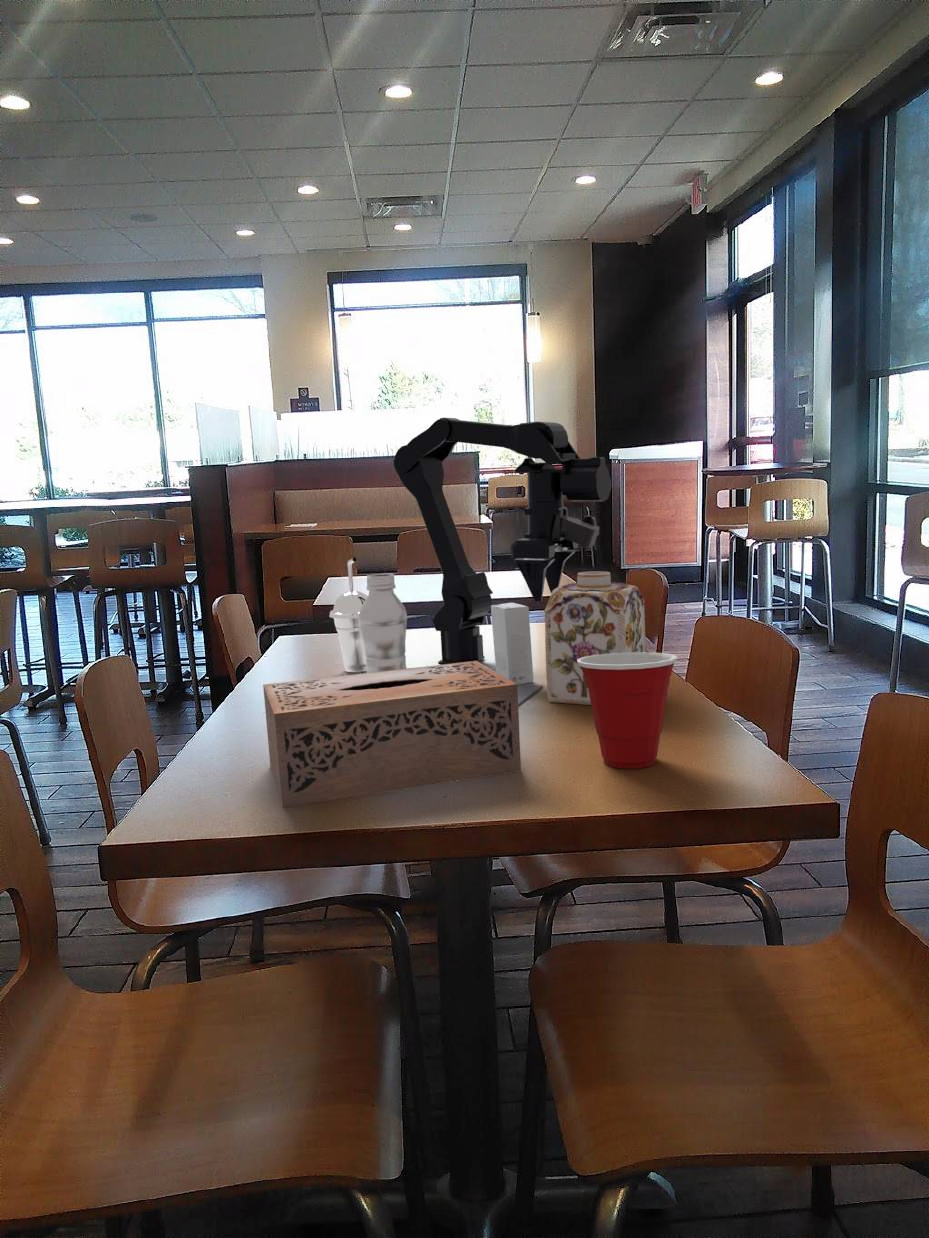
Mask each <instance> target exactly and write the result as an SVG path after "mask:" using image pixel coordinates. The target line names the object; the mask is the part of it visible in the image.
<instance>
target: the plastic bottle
mask: <svg viewBox="0 0 929 1238" xmlns="http://www.w3.org/2000/svg"><path fill="white" fill-rule="evenodd" d="M394 575H395V574H394V573H377V574H375V573H374V574H369V575H366V591H368V595H367V596H368V597H367V598H366V600H365V601H364V603H363V605H362V607H361V609H360V612H359V623H360V628H361V633H362V637H363V642H364V648H365V656H366V664H367V671H366V673H372V672H381V671H390V670H399V669H408V668H407V664H406V663H407V661H406V658H407V657H406V651H407V650H406V637H407V624H408V623H407V621H408V614H407V610H406V607H405V605H404V604H403V603H402V601H401V599H400V598H399V597H398V596H397V595H396V594H395V592H394V589H396V583H395V576H394Z"/></svg>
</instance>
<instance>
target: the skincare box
mask: <svg viewBox="0 0 929 1238" xmlns="http://www.w3.org/2000/svg"><path fill="white" fill-rule="evenodd" d="M529 610H530V607H529V606H527V605H523V604H519V603H516V602H506V603H498V604H497V603H496V604H492V605H491V606H490V613H491V625H492V626H491V629H492V639H493V640H492V641H493V649H494V650H493V651H494V664H495V672H497V673H498V674H500V675H502V676H504V677H505V678H507V679H509V680H510V681H512V682H514V683H516V684H531V683H533V682H534V669H533V665H534V664H533V656H532V652H533V651H532V640H531V639H532V638H531V637H532V636H531V624H530V623H531V622H530V611H529Z"/></svg>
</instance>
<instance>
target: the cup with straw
mask: <svg viewBox="0 0 929 1238" xmlns="http://www.w3.org/2000/svg"><path fill="white" fill-rule="evenodd" d="M355 562H357V558H356V557H353V558H351V559H349V560H348V561H347V571H348V572H347V573H348V576H347V577H348V584H349V585H348V587H349V588H348V590H349V591H346V592H344V593H342V594H340V595H339V596H338V597H337V598H336V600H335V602H334V605H333V609H332V610H330V611H329V615H328V616H329V618H331V619H333V620H334V621H333V622H334V626H335V630H336V632H337V637H338V641H339V647H340V651H341V657H342V664H343V666H344V668H345V669H344V671H345V672H346V673H362V672H363V673H364V672H367V664H366V656H365V648H364V642H363V637H362V633H361V628H360V623H359V612H360V609H361V607H362V605H363V603H364V601H365V600H366V598H367V597H368V595H367V594H365V593H364V592H361V591H359V590H357V591H356V590H354V580H353V579H354V577H353V566H352V564H354V563H355Z"/></svg>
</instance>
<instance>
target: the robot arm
mask: <svg viewBox="0 0 929 1238" xmlns="http://www.w3.org/2000/svg"><path fill="white" fill-rule="evenodd" d="M458 443H463V444H471V445H481V446H489V447H496V448H497V447H498V448H504V449H508V450H510V451H512V452H514V453H516V454H519V455H522V456H525V458H524V459H523V461H522V462H521V463H520V465H518V466H517V467H515V469H514V473H516V474H527V507H525V508H523V509H524V510H523V514H524V516H525V515H526V516H527V528H528V529H527V532H528V533H525V534H524V538H519V539H517V540H515V541H514V542H513V543H512V544H510V559H513V561H514V562H513V563H514V564H516V566H517V568H518V569H519V572H520V573H521V575H522V577H523V579H524V581H525V583H526V585H527V587H528V589H529V592H530V594H531V596H532V598H533V600H534V602H542V600H543V595H544V589H545V582H546V583H547V586H548V589H549V592H550V593H551V594H552V591H553V590H554V589H556V588H557V587H560V584H561V580H562V575H563V572H564V568H565V564H566V561H567V560H568V559H569V558H570V557H572V555H574V554H575V553H576V549H578V548H579V546H580V547H582V548H585V549H590V548H591V547H594V546H595V543H596V539H597V536H599V535H600V526H599V525H597V518H596V517H593V516H592V515H585V516H583V518H582V519H579V518H576V517H575V518H574V517H572V516H570V515H569V509H568V508H567V506H564V496H565V497H566V499H567V500H568V501H569V502H606V501H607V500H608V499H609V497H610V494H611V490H612V489H611V488H612V478H611V477H610V476H611V475H610V471H609V468H608V466H607V465H606V457H604V456H594V457H590V458H581V457H580V456H579V454H578V453H577V452H576V451H577V450H575V448H574V447H573V445H572V444H571V442H570V441H569V436H568V432H567V430H566V429H565V427H564V425H562V424H561V423H558V422H551V421H550V422H549V421H528V422H520V423H514V424H503V423H501V424H500V423H493V422H480V421H472V420H471V421H470V420H463V419H459V418H455V417H440V418H438V419H437V420H435V421H434V422H433V423H432V424H431V425H430V427H428V428H427V429H425V430H423V431H422V432H420V433H419V434H418V435H416V436H415V437H413V438H412V439H411V440H410V441H409V442H408V443H407V444H406V445H403V446H400V448H398V449H397V451H396V453H395V456H394V458H393V460H392V462H393V463H392V464H393V468H394V470H395V472H396V475H397V476H398V479H399V480H400V482H401V484H402V485H403V486H404V487H405V489H406V490H408V492H409V493H410V494H411V495H412V496H413V497H414V498H415V501H416V502H417V505H418V508H419V510H420V513H421V514H420V515H421V517H422V520H423V523H424V525H425V528H426V531H427V533H428V537H429V539H430V542H431V544H432V548H433V551H434V553H435V555H436V558H437V562H438V564H439V567H440V570H441V572H442V584H441V597H442V603H443V606H442V607H441V608H440V609H439V611H438V612H437V613H435V616H434V617H433V618H432V623H433V626H434V630H435V631H436V632H440V646H441V659H440V660H438V662H437V663H438V664H437V665H444V664H452V663H461V662H470V661H478V662H479V663H480V661H482V660H484V659H485V658H486V657H485V655H484V640H483V639H484V638H483V635H482V634H481V633H480V632H481V631H480V626H481V625H484V623H485V618H486V615H487V614H488V612H490V610H491V605H493V604H492V603H493V600H492V596H491V595H492V594H494V593H493V590H492V589H491V587H490V585H489V582H488V578H487V574H486V573H485V572H484V571H481V572H476V571H475V570H474V569H473V568H472V566H471V565H470V564H469V561H468V558H467V556H466V555H467V554H466V553H465V550H464V547H463V544H462V542H461V538H460V536H459V533H458V530H457V528H456V524H455V522H454V519H453V515H452V513H451V510H450V508H449V506H448V503H447V499H446V497H445V494H444V491H443V486H444V476H445V471H444V466H443V463H444V462H445V461H446V460H447V459H448V458H449V457H451V456H450V455H451V454H452V452H453V451H454V448H455V446H456V445H457V444H458ZM526 457H527V458H526ZM534 459H535V460H536V459H537V460H538V459H540V460H542V461H543V462H536V461H534ZM554 465H561V466H562V468H556V467H555V466H554ZM568 548H570V550H569V549H568ZM479 625H480V626H479Z"/></svg>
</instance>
